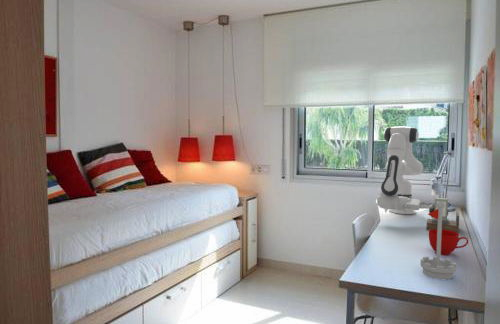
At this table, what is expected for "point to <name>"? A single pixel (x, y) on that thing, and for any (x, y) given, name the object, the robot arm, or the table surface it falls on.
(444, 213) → the green pillar on base
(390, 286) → the table surface
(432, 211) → the alarm clock
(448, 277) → the flag stand
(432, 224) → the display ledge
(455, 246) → the ceramic cup
